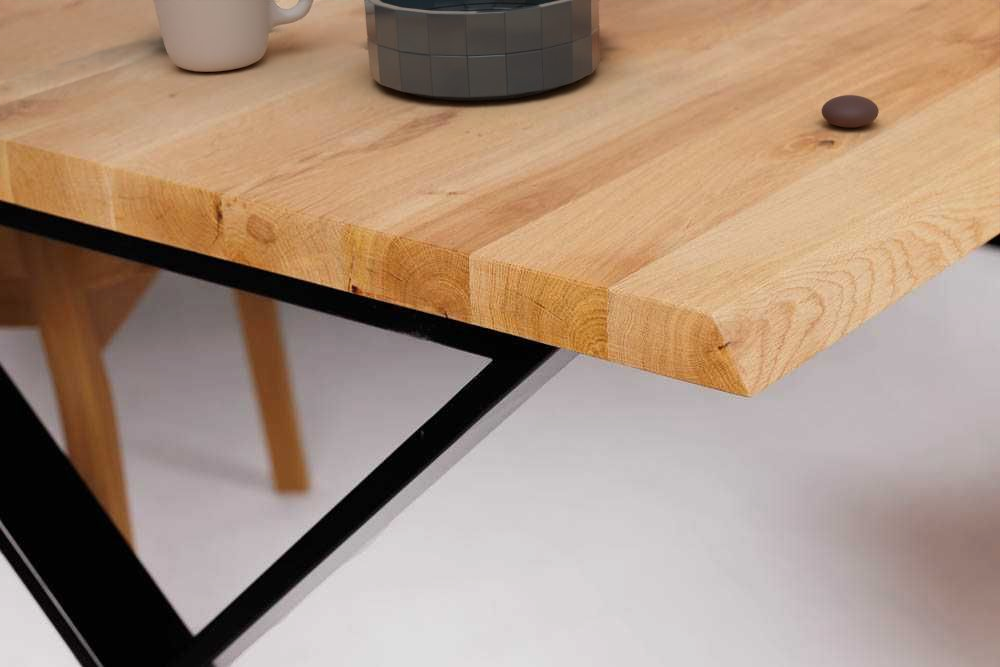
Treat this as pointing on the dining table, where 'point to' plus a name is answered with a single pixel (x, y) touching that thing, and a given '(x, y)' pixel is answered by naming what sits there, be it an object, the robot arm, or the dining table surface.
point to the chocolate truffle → (850, 111)
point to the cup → (221, 30)
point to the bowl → (481, 46)
